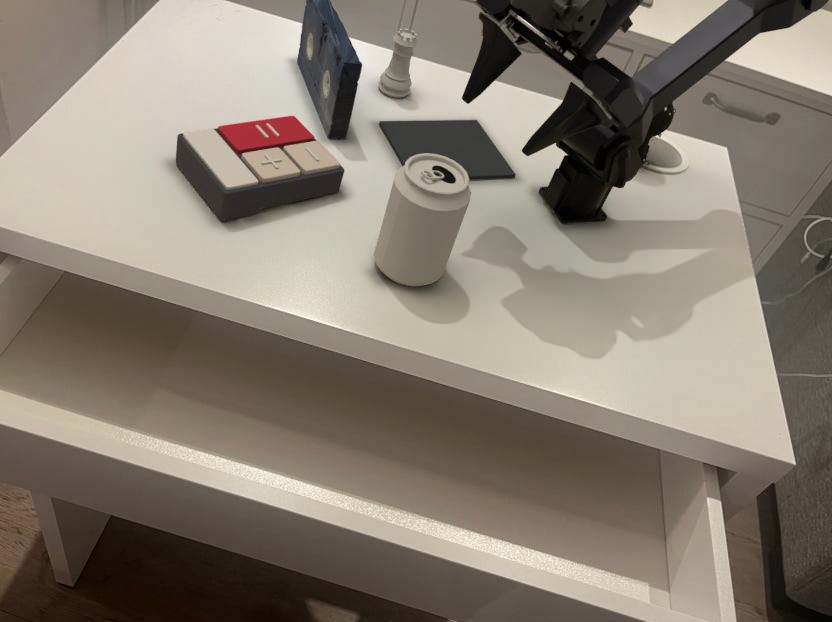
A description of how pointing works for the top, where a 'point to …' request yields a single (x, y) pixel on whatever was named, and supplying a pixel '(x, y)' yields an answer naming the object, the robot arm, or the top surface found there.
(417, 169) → the can
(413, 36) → the rook chess piece
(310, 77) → the vhs cassette tape
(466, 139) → the mat
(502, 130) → the top surface
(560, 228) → the top surface
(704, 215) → the top surface
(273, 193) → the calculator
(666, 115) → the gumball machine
